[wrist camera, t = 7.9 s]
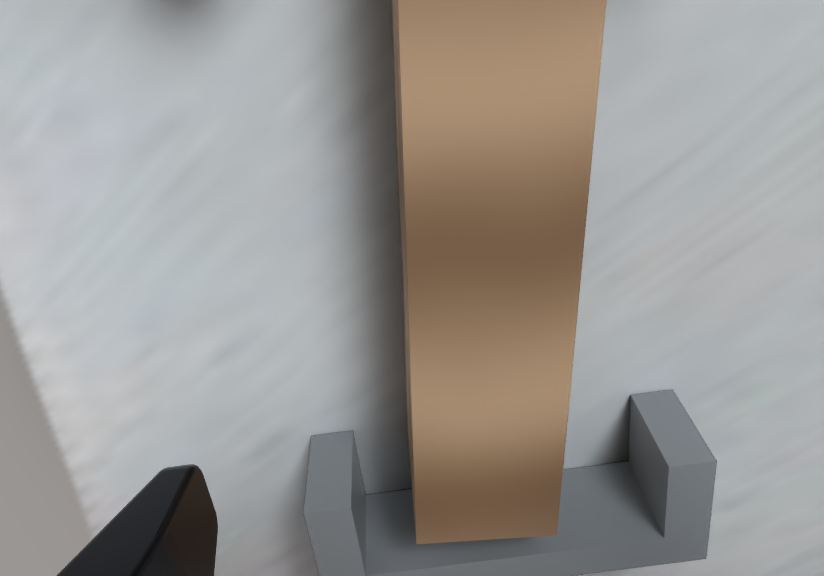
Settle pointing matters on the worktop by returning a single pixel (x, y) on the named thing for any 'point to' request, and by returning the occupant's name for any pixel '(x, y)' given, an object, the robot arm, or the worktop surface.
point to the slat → (492, 251)
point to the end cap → (529, 556)
